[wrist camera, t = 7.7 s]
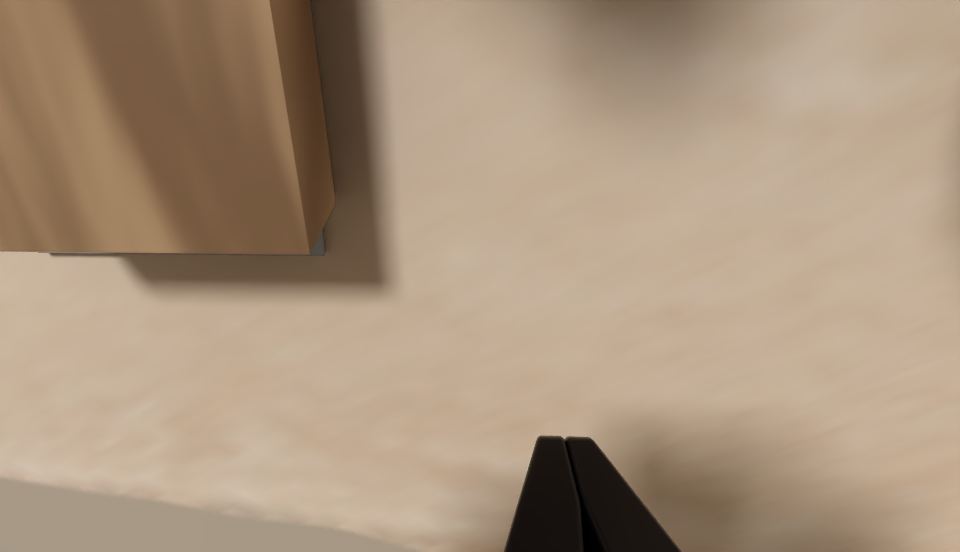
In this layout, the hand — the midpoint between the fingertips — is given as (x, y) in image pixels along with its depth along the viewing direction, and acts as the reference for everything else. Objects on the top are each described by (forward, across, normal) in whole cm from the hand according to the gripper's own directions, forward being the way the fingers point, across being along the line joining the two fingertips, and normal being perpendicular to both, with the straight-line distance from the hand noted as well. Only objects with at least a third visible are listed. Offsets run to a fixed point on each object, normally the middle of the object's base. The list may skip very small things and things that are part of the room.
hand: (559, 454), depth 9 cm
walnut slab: (+10, +6, -4) cm, 12 cm away
